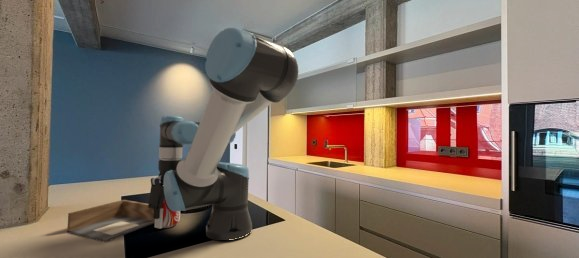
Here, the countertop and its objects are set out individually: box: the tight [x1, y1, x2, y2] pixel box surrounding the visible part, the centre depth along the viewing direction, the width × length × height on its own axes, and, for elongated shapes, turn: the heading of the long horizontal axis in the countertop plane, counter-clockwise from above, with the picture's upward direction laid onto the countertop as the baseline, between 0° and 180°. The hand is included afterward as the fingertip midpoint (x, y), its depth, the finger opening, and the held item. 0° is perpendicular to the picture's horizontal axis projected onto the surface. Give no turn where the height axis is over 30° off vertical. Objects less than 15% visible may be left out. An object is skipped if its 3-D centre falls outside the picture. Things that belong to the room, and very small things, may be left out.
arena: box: [66, 199, 155, 243], centre depth 82 cm, size 18×18×6 cm
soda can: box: [161, 197, 179, 229], centre depth 84 cm, size 7×7×12 cm
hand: (167, 223), depth 84 cm, fingers closed on soda can, 7 cm apart
